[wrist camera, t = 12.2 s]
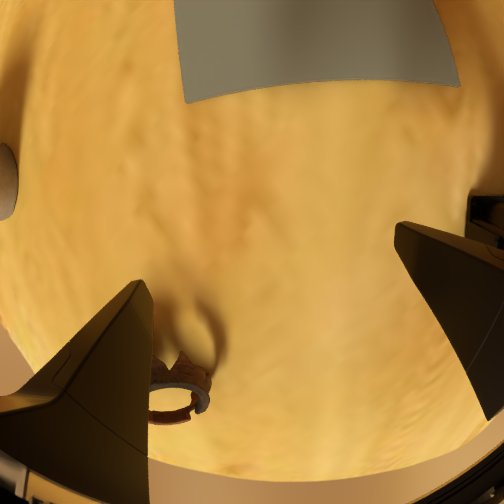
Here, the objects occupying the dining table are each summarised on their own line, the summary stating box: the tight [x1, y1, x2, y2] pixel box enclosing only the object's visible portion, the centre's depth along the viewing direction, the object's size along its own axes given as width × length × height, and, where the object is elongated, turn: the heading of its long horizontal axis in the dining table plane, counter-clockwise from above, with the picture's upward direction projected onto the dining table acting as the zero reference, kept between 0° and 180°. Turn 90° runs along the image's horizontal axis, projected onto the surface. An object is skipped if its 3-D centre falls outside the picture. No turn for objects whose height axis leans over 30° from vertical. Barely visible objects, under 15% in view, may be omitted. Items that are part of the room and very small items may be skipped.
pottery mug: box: [148, 351, 212, 425], centre depth 24 cm, size 12×10×8 cm
